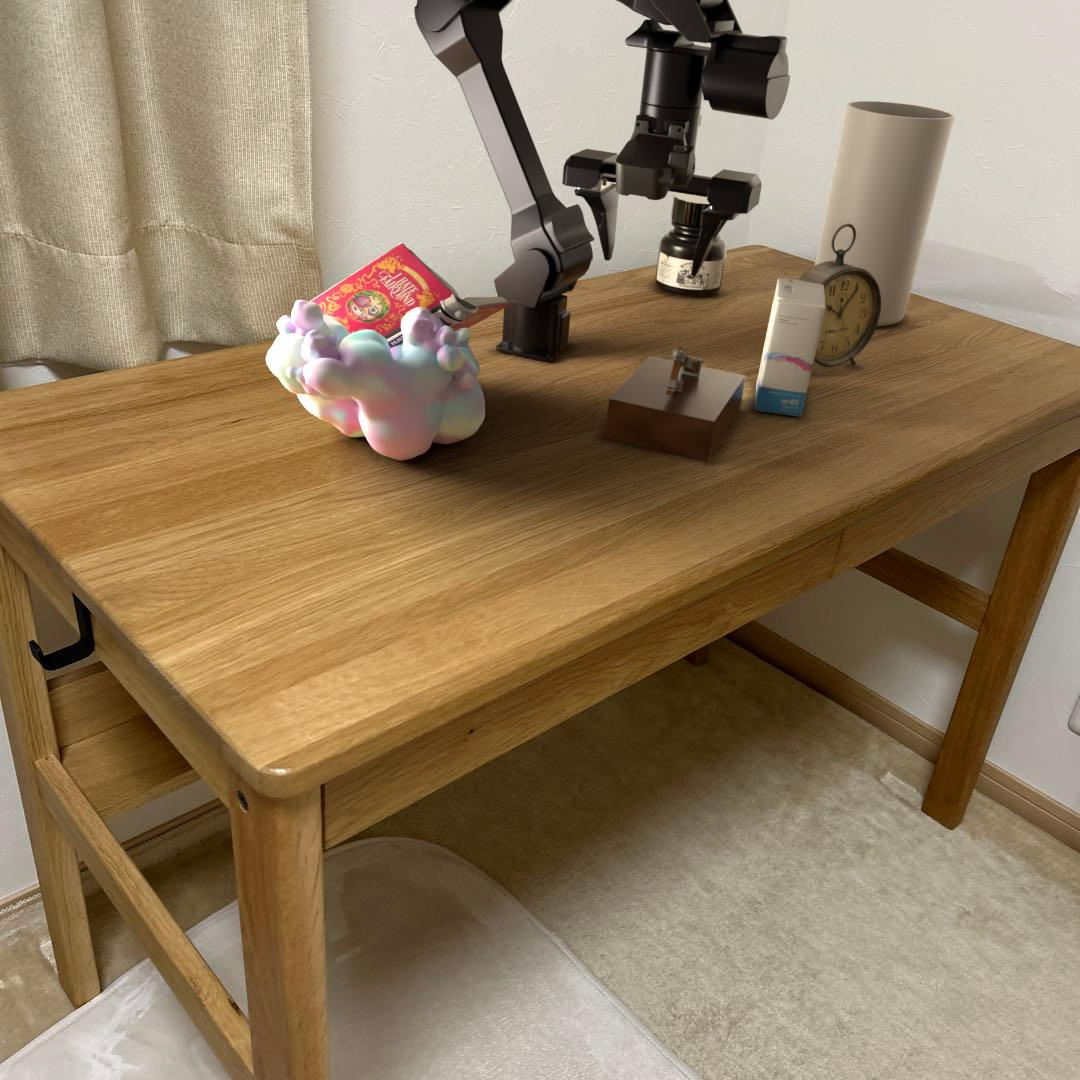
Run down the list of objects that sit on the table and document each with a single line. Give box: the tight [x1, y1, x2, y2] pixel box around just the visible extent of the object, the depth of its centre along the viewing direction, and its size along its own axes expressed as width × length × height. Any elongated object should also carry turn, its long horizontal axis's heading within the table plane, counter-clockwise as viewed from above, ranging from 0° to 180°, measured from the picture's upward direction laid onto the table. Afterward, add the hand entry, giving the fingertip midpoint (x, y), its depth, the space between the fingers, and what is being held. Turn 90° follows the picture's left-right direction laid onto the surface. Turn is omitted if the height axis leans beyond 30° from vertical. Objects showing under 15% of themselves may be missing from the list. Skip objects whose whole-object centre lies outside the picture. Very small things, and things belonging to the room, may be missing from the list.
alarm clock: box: [797, 224, 881, 368], centre depth 118 cm, size 11×5×16 cm, turn 117°
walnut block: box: [604, 355, 746, 462], centre depth 104 cm, size 10×13×4 cm
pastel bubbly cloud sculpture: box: [265, 242, 515, 461], centre depth 97 cm, size 20×22×18 cm
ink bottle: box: [654, 192, 728, 298], centre depth 142 cm, size 10×9×12 cm
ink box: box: [754, 277, 826, 418], centre depth 109 cm, size 9×5×12 cm, turn 168°
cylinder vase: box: [814, 100, 956, 327], centre depth 135 cm, size 12×12×25 cm
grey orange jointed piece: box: [666, 346, 704, 396], centre depth 102 cm, size 2×8×4 cm, turn 157°
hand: (650, 267), depth 109 cm, fingers open, 9 cm apart
